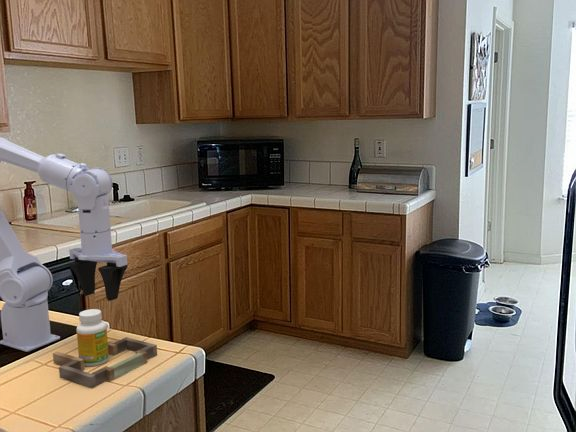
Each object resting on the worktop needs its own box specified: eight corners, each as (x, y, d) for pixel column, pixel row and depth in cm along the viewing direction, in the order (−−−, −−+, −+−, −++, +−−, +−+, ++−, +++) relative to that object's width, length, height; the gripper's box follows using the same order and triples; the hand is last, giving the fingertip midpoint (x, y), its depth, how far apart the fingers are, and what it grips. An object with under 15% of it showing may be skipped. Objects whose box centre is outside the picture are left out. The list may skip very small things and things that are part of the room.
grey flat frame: (37, 370, 103) (36, 360, 102) (105, 340, 116) (104, 331, 116) (94, 389, 95) (93, 378, 94) (160, 355, 108) (159, 345, 108)
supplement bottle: (99, 367, 103) (95, 318, 102) (73, 366, 104) (69, 316, 103) (114, 356, 108) (110, 308, 107) (89, 354, 109) (85, 307, 108)
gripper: (54, 231, 110) (60, 297, 112) (104, 237, 102) (110, 308, 105) (83, 225, 116) (88, 287, 118) (133, 230, 108) (138, 297, 111)
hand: (100, 296), depth 112 cm, fingers open, 6 cm apart
